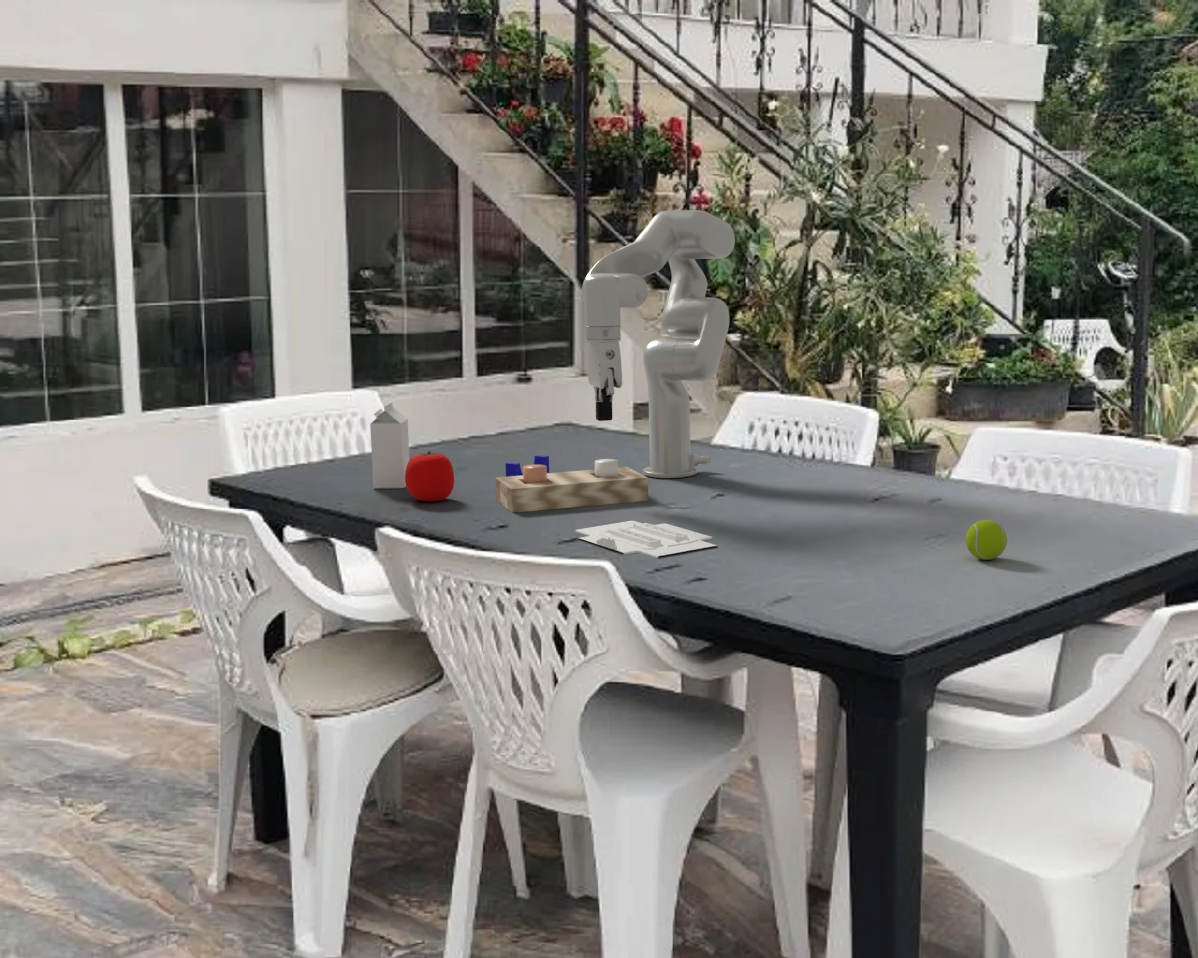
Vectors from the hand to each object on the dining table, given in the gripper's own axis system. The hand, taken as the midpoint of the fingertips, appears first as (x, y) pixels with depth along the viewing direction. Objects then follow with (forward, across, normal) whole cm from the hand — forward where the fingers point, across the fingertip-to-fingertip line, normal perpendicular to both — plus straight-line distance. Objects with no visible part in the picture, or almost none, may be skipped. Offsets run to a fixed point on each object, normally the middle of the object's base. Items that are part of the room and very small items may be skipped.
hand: (604, 420), depth 326 cm
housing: (+17, 0, +7) cm, 19 cm away
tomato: (+18, +14, +35) cm, 42 cm away
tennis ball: (+18, -80, -45) cm, 93 cm away
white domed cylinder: (+14, 0, -1) cm, 14 cm away
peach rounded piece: (+14, 0, +15) cm, 21 cm away
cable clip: (+17, +22, +12) cm, 31 cm away
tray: (+18, -40, +5) cm, 45 cm away
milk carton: (+17, +34, +40) cm, 55 cm away
